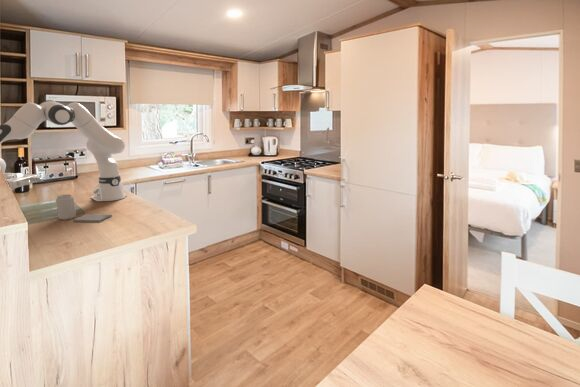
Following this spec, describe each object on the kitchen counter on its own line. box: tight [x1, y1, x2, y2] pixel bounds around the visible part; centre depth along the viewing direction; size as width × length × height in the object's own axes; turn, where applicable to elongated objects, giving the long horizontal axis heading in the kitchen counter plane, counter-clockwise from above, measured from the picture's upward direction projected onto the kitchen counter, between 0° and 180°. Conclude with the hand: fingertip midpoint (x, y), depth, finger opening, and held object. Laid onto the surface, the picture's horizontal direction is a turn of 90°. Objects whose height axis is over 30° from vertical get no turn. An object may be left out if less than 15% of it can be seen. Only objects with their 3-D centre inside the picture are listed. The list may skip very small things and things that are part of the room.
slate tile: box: [72, 213, 113, 223], centre depth 179 cm, size 14×10×1 cm
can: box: [55, 193, 77, 221], centre depth 181 cm, size 8×8×12 cm
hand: (36, 181), depth 177 cm, fingers open, 8 cm apart
